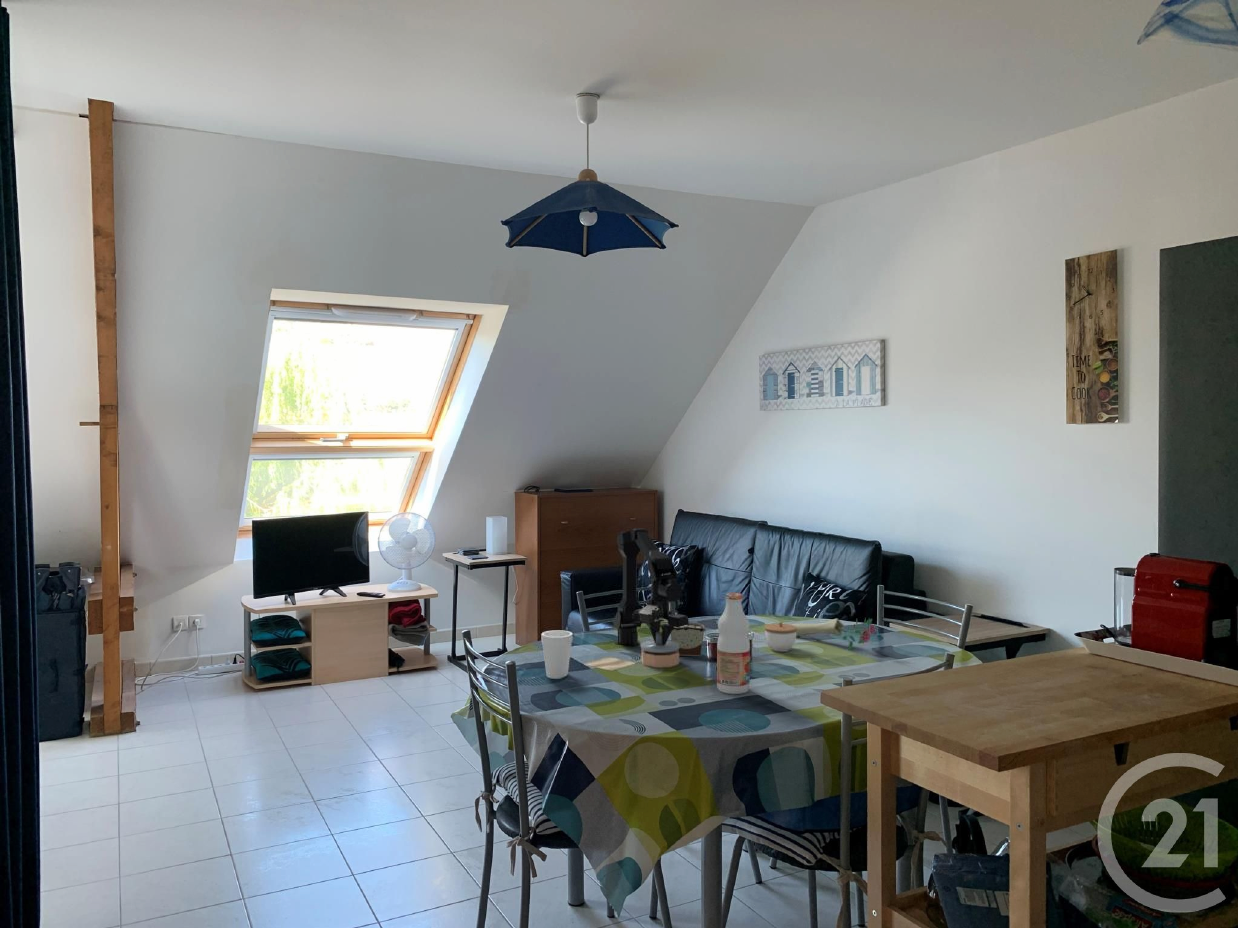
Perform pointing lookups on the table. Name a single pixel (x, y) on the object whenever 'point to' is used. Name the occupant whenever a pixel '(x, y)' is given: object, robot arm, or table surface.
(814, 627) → the flower vase
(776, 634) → the lidded jar
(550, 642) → the foam cup
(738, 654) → the fruit juice
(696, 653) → the food container
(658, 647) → the lid
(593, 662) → the mat
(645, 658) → the bowl
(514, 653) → the table surface
